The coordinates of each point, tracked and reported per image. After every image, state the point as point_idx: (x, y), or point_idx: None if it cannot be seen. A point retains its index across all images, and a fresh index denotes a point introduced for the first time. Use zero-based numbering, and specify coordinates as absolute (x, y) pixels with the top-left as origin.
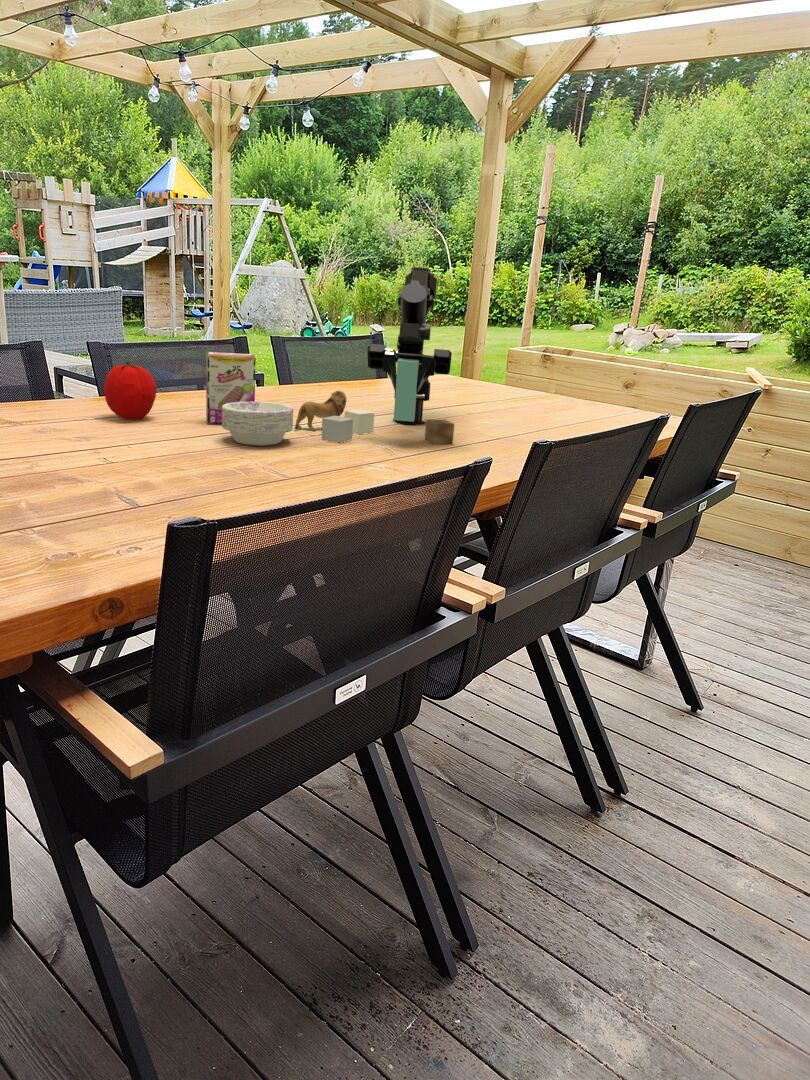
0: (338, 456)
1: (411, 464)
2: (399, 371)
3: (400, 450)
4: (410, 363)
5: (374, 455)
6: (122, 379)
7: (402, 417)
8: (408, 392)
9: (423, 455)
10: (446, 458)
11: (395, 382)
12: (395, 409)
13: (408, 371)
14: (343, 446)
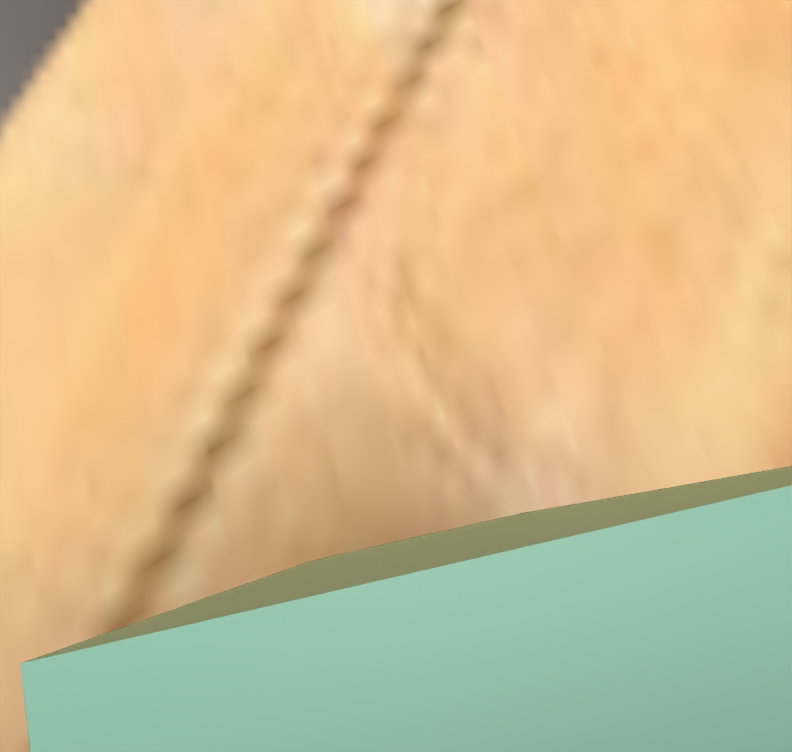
0: (683, 68)
1: (219, 105)
2: (734, 479)
3: (390, 452)
4: (451, 556)
5: (501, 207)
6: None
7: (434, 533)
8: (398, 546)
9: (198, 390)
10: (23, 391)
11: None
12: (531, 512)
13: (469, 541)
14: (781, 343)
